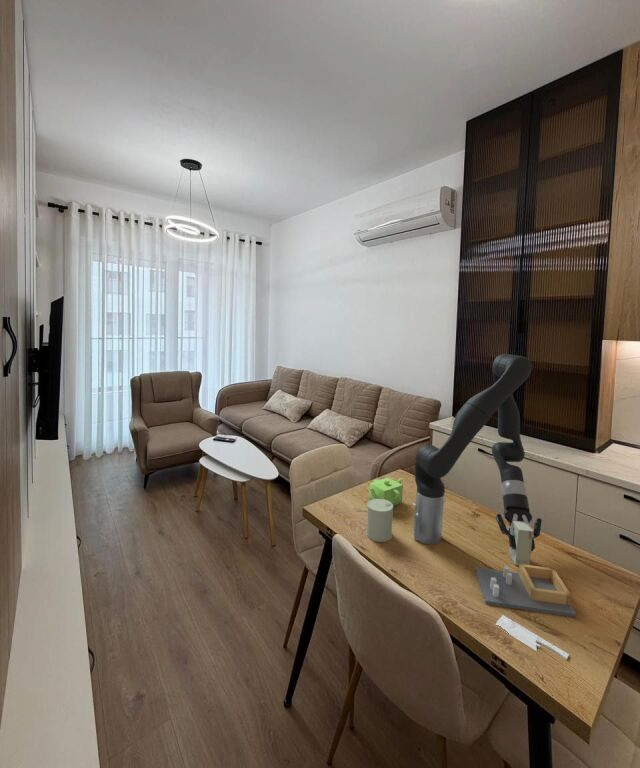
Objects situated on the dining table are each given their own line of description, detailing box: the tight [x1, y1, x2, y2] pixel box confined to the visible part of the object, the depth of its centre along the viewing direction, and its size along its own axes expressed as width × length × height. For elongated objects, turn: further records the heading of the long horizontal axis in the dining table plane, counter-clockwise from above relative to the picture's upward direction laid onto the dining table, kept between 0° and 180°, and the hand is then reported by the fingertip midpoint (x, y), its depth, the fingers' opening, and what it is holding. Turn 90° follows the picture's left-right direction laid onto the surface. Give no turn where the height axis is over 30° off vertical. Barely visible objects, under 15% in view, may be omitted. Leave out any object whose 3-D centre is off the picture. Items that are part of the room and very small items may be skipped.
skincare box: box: [509, 521, 534, 567], centre depth 118 cm, size 6×4×12 cm
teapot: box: [367, 477, 405, 507], centre depth 153 cm, size 15×13×11 cm
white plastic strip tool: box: [495, 614, 570, 661], centre depth 89 cm, size 5×15×1 cm, turn 40°
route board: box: [474, 564, 577, 618], centre depth 105 cm, size 22×14×4 cm, turn 79°
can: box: [365, 499, 394, 543], centre depth 131 cm, size 9×9×12 cm
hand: (522, 549), depth 116 cm, fingers closed on skincare box, 4 cm apart
